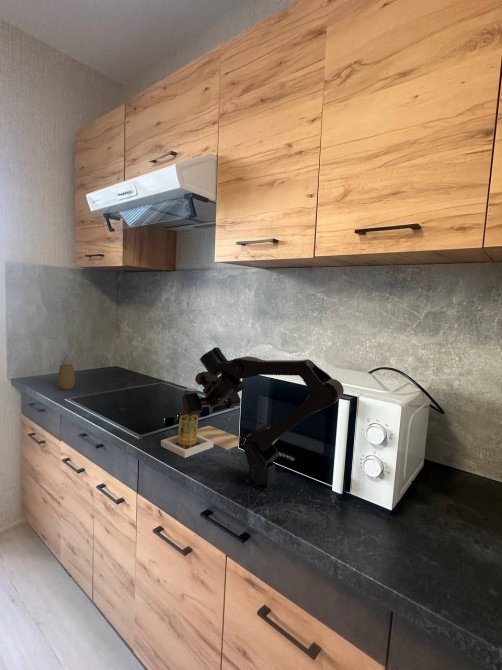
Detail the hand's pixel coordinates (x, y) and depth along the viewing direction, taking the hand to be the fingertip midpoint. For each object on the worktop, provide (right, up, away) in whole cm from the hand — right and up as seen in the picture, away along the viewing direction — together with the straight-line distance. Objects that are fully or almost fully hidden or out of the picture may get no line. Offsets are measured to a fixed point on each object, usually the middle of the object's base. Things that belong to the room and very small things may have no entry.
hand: (201, 413), depth 114 cm
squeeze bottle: (-80, -3, +72) cm, 107 cm away
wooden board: (+3, -13, +16) cm, 21 cm away
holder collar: (-6, -13, +7) cm, 16 cm away
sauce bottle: (-6, -13, +7) cm, 16 cm away
